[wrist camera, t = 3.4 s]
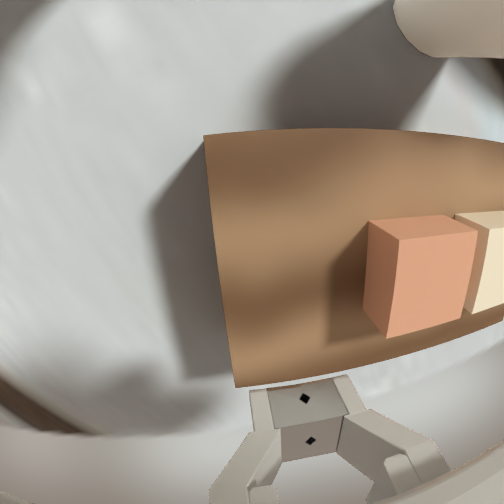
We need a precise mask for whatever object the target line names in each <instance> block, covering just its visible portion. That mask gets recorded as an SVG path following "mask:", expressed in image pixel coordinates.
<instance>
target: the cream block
mask: <svg viewBox="0 0 504 504" xmlns="http://www.w3.org/2000/svg"><path fill="white" fill-rule="evenodd" d="M455 220H456V221H458V222H461V223H463V224H465V225H467V226H469V227H471V228H473V229H475V230H478V234H477V241H476V248H475V254H474V259H473V265H472V270H471V275H470V280H469V284H468V289H467V293H466V297H465V301H464V305H463V307H464V308H465V309H466V310H467V311H468V312H470V313H471V314H474V313H477V312H480V311H483V310H486V309H489V308H492V307H494V306H497V305H500V304H502V303H504V211H490V212H475V213H460V214H455Z"/></svg>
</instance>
